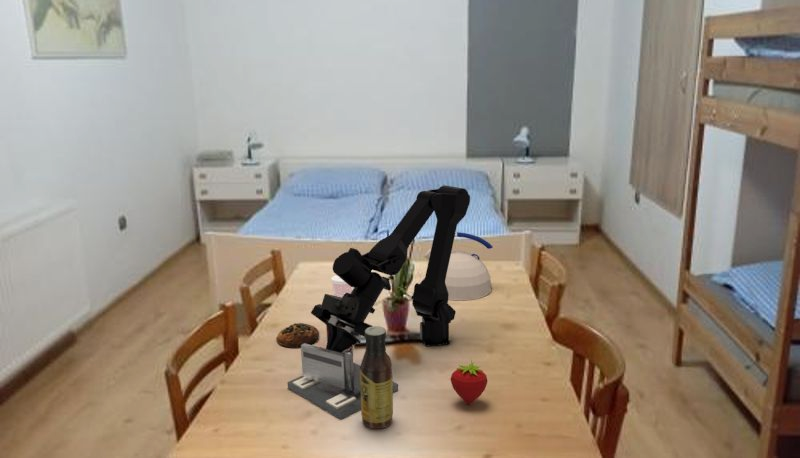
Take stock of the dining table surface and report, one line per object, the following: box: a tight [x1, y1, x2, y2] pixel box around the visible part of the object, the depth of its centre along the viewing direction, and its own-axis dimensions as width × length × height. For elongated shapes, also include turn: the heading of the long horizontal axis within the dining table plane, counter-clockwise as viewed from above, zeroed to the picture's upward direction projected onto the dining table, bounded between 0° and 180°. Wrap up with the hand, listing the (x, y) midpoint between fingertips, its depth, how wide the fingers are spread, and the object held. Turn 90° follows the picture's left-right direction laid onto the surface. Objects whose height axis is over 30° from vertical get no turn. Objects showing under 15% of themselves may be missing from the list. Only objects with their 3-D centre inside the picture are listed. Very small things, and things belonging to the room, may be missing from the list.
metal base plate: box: [287, 361, 399, 421], centre depth 139 cm, size 16×18×2 cm
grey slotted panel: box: [300, 343, 354, 391], centre depth 136 cm, size 13×2×8 cm, turn 59°
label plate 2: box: [326, 394, 356, 409], centre depth 132 cm, size 5×4×1 cm
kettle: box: [423, 231, 494, 301], centre depth 196 cm, size 20×21×18 cm
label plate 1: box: [293, 377, 321, 389], centre depth 139 cm, size 5×4×1 cm
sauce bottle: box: [360, 325, 394, 430], centre depth 124 cm, size 6×6×20 cm
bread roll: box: [275, 322, 320, 349], centre depth 164 cm, size 11×11×5 cm
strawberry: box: [450, 359, 488, 405], centre depth 132 cm, size 6×8×10 cm
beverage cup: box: [330, 274, 353, 297], centre depth 183 cm, size 6×6×14 cm
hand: (326, 359), depth 137 cm, fingers closed
